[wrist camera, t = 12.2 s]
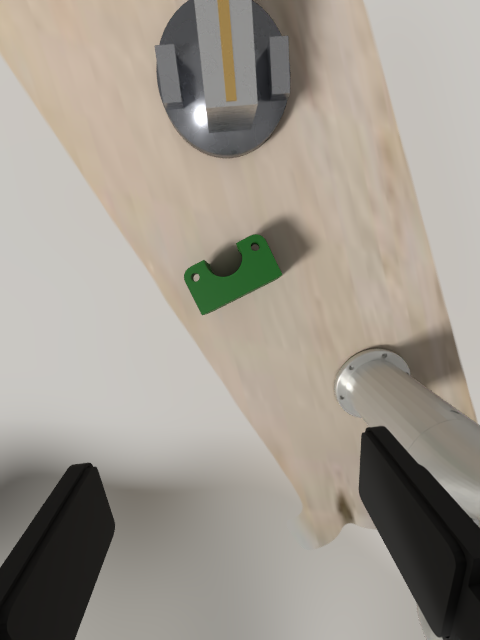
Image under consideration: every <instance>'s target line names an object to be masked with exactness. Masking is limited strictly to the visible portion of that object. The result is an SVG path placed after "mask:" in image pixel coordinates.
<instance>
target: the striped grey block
mask: <svg viewBox="0 0 480 640" xmlns="http://www.w3.org/2000/svg"><path fill="white" fill-rule="evenodd" d="M194 3H195V12H196V22H197V31H198V40H199V49H200V58H201V68H202V77H203V86H204V95H205V104H206V113H207V121H208V130H209V133H216V132H229V131H241V130H251V128H252V124H253V120H254V116H255V113H256V109H257V105H258V101H257V84H256V67H255V51H254V34H253V17H252V0H194Z"/></svg>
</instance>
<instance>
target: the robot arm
mask: <svg viewBox="0 0 480 640" xmlns="http://www.w3.org/2000/svg"><path fill="white" fill-rule="evenodd" d="M334 392H335V396H336V399H337V401H338V403H339V404H340V406H341V407H342V408H343V409H344V410H345V411H346V412H347V413H349V414H350V415H352V416H355V417H359V418H362V419H363V420H364V421H365V422H366V424H367V425H368V426H369V427H368V428H366V431H365V432H364V433H362V436H361V456H360V475H359V494H360V497H361V500H362V502H363V504H364V506H365V508H366V510H367V511H368V513H369V515H370V517H371V519H372V521H373V523H374V524H375V526H376V528H377V530H378V532H379V534H380V536H381V537H382V539H383V541H384V543H385V545H386V547H387V548H388V550H389V552H390V554H391V556H392V558H393V560H394V561H395V563H396V565H397V567H398V569H399V570H400V573H401V574H402V576H403V578H404V580H405V582H406V584H407V586H408V587H409V589H410V591H411V593H412V595H413V597H414V599H415V600H416V602H417V613H418V617H419V621H420V625H421V627H422V630H423V633H424V635H425V638H426V640H480V425H479V424H477V423H476V422H474V421H473V420H471V419H470V418H469V417H467V416H466V415H464V414H463V413H462V412H460V411H459V410H457V409H456V408H455V407H453V406H452V405H450V404H449V403H448V402H446V401H445V400H443V399H442V398H441V397H439V396H438V395H436V394H435V393H434V392H432V391H431V390H429V389H428V388H427V387H425V386H424V385H422V384H421V383H420V382H418V381H417V380H415V379H414V378H413V377H411V373H410V369H409V367H408V365H407V363H406V362H405V361H404V359H403V358H401V357H400V356H399V355H397V354H396V353H394V352H392V351H389V350H386V349H378V348H377V349H369V350H365V351H362V352H360V353H358V354H356V355H354V356H353V357H351V358H350V359H349V360H348V361H347V362H346V363H345V364H344V365H343V366H342V367H341V369H340V370H339V372H338V374H337V376H336V380H335V384H334ZM471 518H473V519H477V520H479V525H477V524H476V523H475V522H474V521H473V520H472V519H471ZM114 530H115V522H114V518H113V515H112V512H111V509H110V506H109V503H108V500H107V497H106V494H105V491H104V488H103V484H102V481H101V478H100V475H99V472H98V469H97V467H93V465H92V464H91V463H83V464H75V465H71V466H70V467H69V468H68V469H67V471H66V472H65V474H64V475H63V477H62V478H61V480H60V481H59V482H58V484H57V485H56V487H55V488H54V490H53V491H52V493H51V494H50V496H49V497H48V499H47V500H46V502H45V503H44V504H43V506H42V507H41V509H40V511H39V512H38V513H37V515H36V516H35V518H34V519H33V520H32V522H31V523H30V525H29V526H28V528H27V529H26V531H25V532H24V534H23V535H22V537H21V538H20V540H19V541H18V542H17V544H16V545H15V547H14V548H13V550H12V551H11V553H10V554H9V556H8V557H7V559H6V560H5V562H4V563H3V564H2V566H1V567H0V640H75V637H76V635H77V632H78V629H79V627H80V623H81V621H82V618H83V616H84V613H85V610H86V608H87V605H88V602H89V600H90V597H91V594H92V591H93V589H94V586H95V583H96V581H97V578H98V575H99V573H100V570H101V567H102V565H103V562H104V559H105V556H106V554H107V551H108V548H109V546H110V543H111V540H112V538H113V535H114Z"/></svg>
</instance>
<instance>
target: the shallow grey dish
mask: <svg viewBox="0 0 480 640" xmlns="http://www.w3.org/2000/svg"><path fill="white" fill-rule="evenodd" d="M252 17H253V34H254V51H255V67H256V84H257V101H258V105H257V109H256V113H255V116H254V120H253V124H252V128H251V130H241V131H229V132H216V133H209V130H208V121H207V113H206V104H205V95H204V86H203V77H202V68H201V58H200V49H199V40H198V31H197V22H196V12H195V3H194V0H188V1H187V2H186V3H184V4H183V5H182V6H181V7H180V8H179V9H178V10H177V11H176V12H175V13H174V15H173V16H172V18H171V19H170V21H169V22H168V24H167V26H166V28H165V30H164V32H163V35H162V38H161V41H160V45H155V52H156V58H157V82H158V88H159V92H160V96H161V99H162V102H163V105H164V107H165V110H166V112H167V114H168V116H169V119H170V121H171V122H172V124H173V126H174V127H175V129H176V130H177V131H178V133H179V134H180V135H181V136H182V137H183V139H184V140H185V141H186V142H188V143H189V144H190V145H191V146H192V147H194V148H195V149H197V150H199V151H200V152H203V153H205V154H207V155H210V156H214V157H219V158H234V157H240V156H243V155H246V154H248V153H250V152H252V151H254V150H255V149H257V148H258V147H260V146H261V145H262V144H263V143H264V142H265V141H266V140H267V139H268V138H269V137H270V136H271V134H272V133H273V131H274V130H275V128H276V127H277V125H278V123H279V121H280V119H281V116H282V114H283V112H284V109H285V106H286V104H287V99H288V96H289V94H290V64H289V44H288V36H281V33H280V31H279V30H278V28H277V26H276V24H275V23H274V21H273V20H272V19H271V17H270V16H269V15H268V14H267V13H266V11H265V10H264V9H263V8H262V7H261V6H259V5H258V4H257V3H255V2H254V1H253V0H252Z"/></svg>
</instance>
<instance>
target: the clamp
mask: <svg viewBox="0 0 480 640" xmlns="http://www.w3.org/2000/svg"><path fill="white" fill-rule="evenodd" d="M236 244H237V248H238V251H239V252H240V253H241V255H242V263H241V265H240V267H239V269H238V270H237V271H236V272H235V273H234V274H232V275H230V276H227V277H219V276H216V275H214V274H213V272H212V270H211V268H210V265H209V264H208V263H207V262H206V261H205V260H203V261H201V262H199V263H197V264H195V265H193V266H191V267H190V268H188V269H187V270H186V272H185V274H184V280H185V282H186V284H187V286H188V288H189V290H190V292H191V294H192V296H193V298H194V300H195V302H196V304H197V306H198V308H199V310H200V312H201V314H202V315H205V314H208V313H211V312H213V311H215V310H217V309H219V308H221V307H223V306H225V305H227V304H229V303H231V302H233V301H235V300H237V299H239V298H241V297H243V296H245V295H247V294H249V293H251V292H253V291H255V290H257V289H259V288H261V287H263V286H265V285H266V284H268V283H270V282H272V281H274V280H276V279H278V278H279V277H281V276H282V273H281V271H280V269H279V267H278V265H277V263H276V261H275V258H274V256H273V254H272V252H271V250H270V248H269V246H268V244H267V242H266V240H265V239H264V238H263V237H262V236H260V235H257V234H255V235H251V236H249V237H247V238H245V239H243V240H241V241H239V242H238V243H236ZM253 244H257V245H258V246H259V249H258V250H257V251H253V250H252V249H251V246H252V245H253ZM195 274H199V276H200V279H199V280H198V281H197V282H195V281H194V279H193V277H194V275H195Z"/></svg>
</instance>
